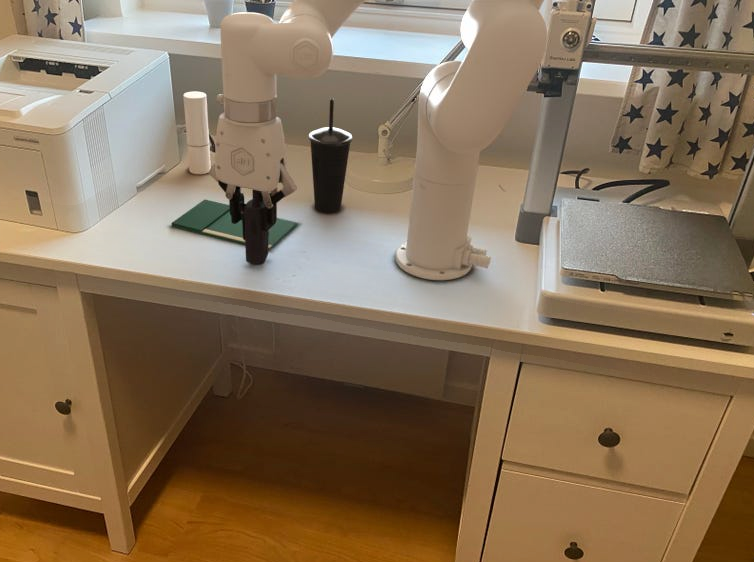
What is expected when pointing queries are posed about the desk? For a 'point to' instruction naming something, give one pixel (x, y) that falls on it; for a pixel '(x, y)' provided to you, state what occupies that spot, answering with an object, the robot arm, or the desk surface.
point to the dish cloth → (225, 223)
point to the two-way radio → (254, 229)
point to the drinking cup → (329, 164)
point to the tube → (197, 132)
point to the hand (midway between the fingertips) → (253, 222)
